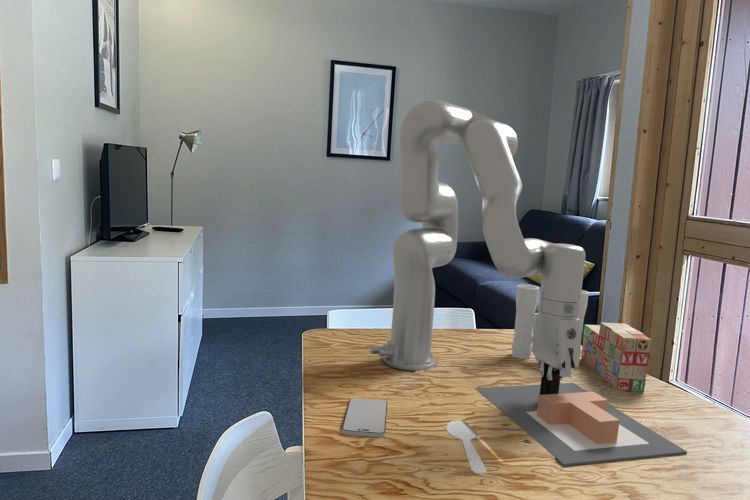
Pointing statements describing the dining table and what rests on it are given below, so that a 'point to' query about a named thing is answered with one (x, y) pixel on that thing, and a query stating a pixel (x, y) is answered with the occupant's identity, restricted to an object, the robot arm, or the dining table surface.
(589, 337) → the stack of blocks
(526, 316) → the binoculars
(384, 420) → the smartphone
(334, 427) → the dining table surface
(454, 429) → the spoon
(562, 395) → the t block
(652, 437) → the mat
